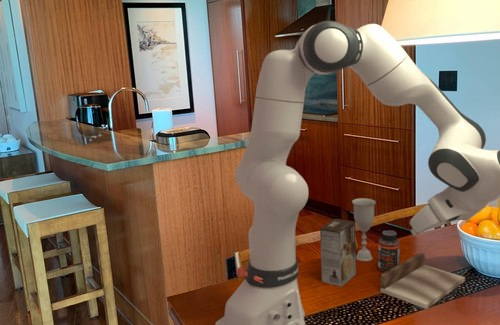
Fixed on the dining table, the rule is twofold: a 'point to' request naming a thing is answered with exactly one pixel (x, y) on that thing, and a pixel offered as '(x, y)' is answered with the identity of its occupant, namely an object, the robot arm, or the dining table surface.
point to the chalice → (364, 223)
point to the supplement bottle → (388, 251)
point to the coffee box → (338, 252)
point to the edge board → (418, 282)
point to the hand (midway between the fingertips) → (425, 228)
